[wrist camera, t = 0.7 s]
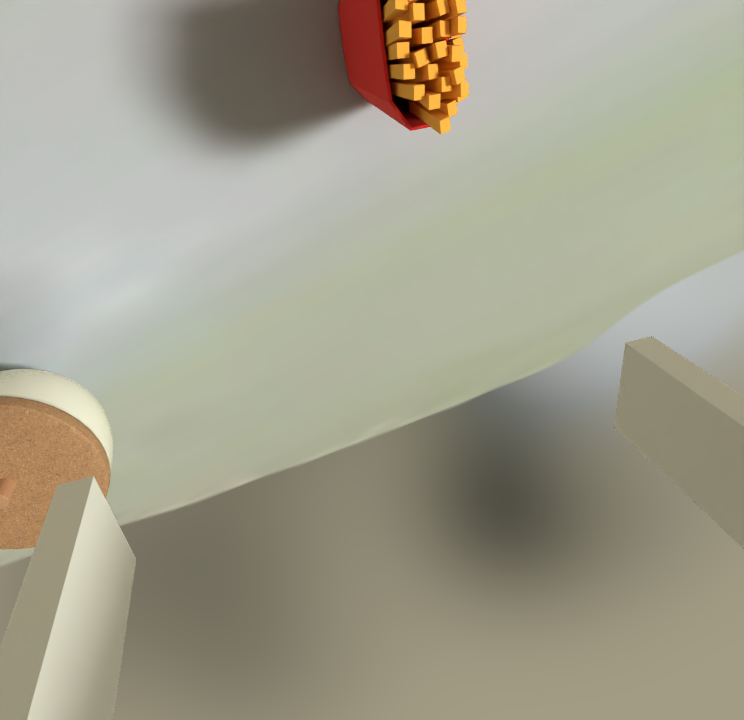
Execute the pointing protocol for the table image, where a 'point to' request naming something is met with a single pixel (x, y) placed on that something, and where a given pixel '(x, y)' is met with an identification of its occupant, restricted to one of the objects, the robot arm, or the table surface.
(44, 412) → the lidded jar
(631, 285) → the table surface
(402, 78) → the french fries
